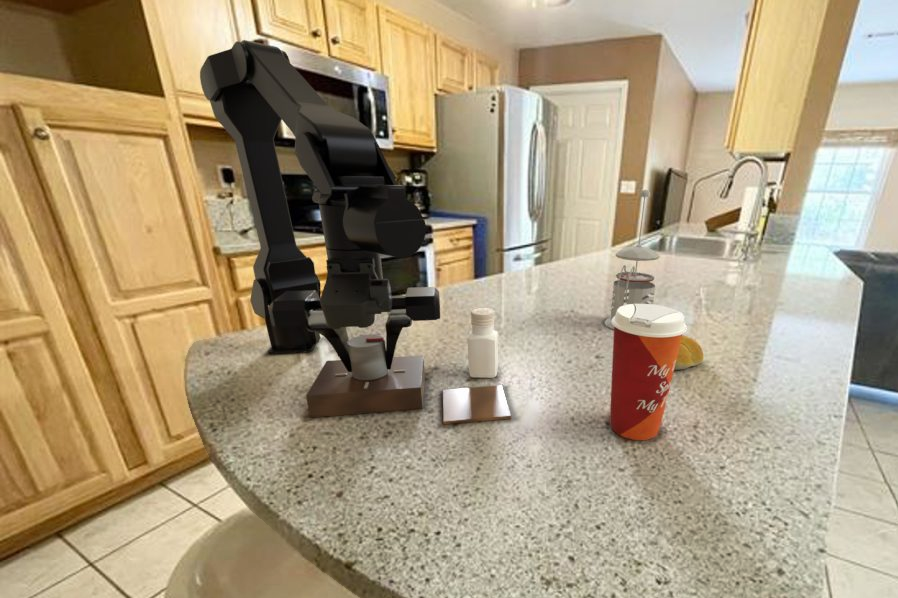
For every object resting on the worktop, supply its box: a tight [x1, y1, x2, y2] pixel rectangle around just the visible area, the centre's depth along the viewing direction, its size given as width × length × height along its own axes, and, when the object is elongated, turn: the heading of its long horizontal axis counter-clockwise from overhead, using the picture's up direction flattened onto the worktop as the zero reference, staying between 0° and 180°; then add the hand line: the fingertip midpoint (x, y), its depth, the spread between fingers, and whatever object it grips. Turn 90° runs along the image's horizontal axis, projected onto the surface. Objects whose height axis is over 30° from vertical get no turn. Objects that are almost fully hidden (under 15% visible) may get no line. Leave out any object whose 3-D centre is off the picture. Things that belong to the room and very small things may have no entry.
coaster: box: [442, 385, 512, 425], centre depth 53 cm, size 8×8×1 cm
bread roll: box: [674, 335, 704, 371], centre depth 67 cm, size 8×9×4 cm
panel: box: [305, 354, 426, 419], centre depth 55 cm, size 13×10×3 cm
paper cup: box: [609, 303, 688, 441], centre depth 46 cm, size 8×8×14 cm
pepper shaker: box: [467, 307, 499, 379], centre depth 60 cm, size 4×4×10 cm
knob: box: [347, 334, 388, 380], centre depth 53 cm, size 4×4×5 cm
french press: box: [604, 189, 661, 330], centre depth 78 cm, size 10×12×25 cm
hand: (370, 369), depth 54 cm, fingers closed on knob, 4 cm apart
